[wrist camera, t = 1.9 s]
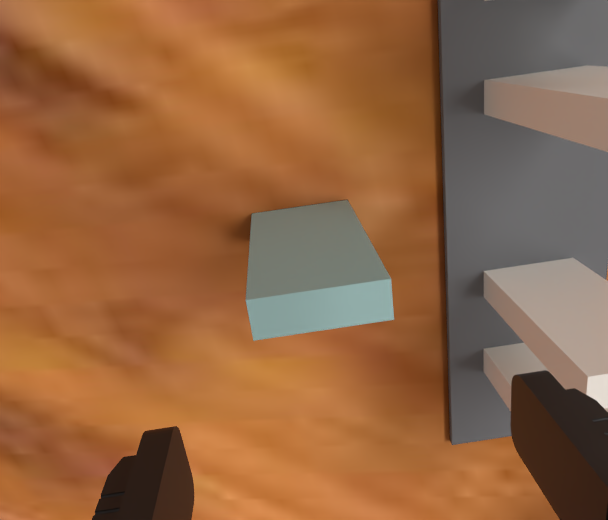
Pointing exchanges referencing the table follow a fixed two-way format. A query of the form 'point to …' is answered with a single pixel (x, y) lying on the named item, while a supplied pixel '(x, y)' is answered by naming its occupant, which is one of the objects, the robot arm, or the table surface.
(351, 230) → the domino
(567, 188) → the strip
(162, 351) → the table surface
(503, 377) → the domino
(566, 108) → the domino
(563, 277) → the domino
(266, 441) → the table surface
